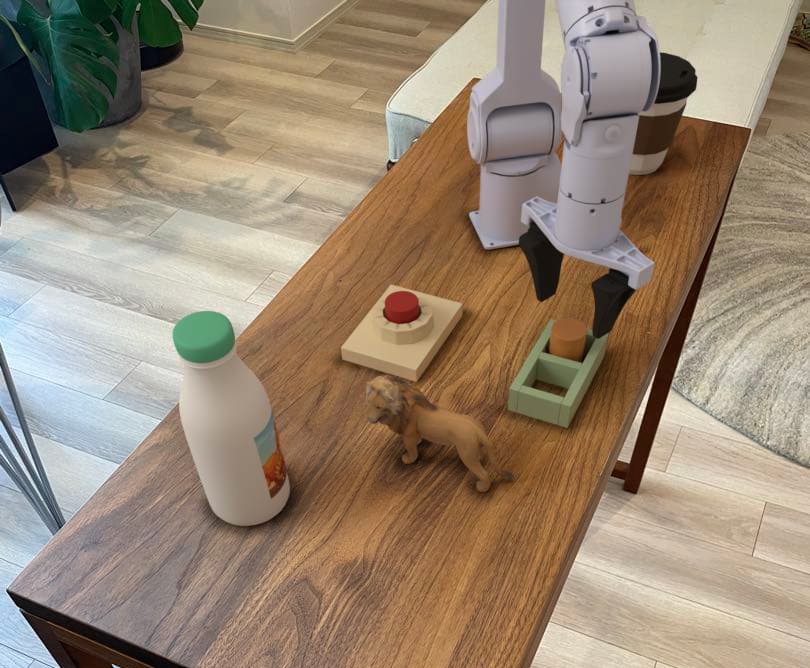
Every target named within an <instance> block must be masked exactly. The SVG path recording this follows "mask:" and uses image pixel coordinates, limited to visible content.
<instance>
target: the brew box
mask: <svg viewBox="0 0 810 668" xmlns="http://www.w3.org/2000/svg"><path fill="white" fill-rule="evenodd" d="M397 291H408V292H411V293H413V294H415V295H416V296H417V297H418V300H419V316H418V318H417V319H416V320H415V321H413V322H411V323H408V324H396V323H392V322H389V321H388V320H387V318H386V313H385V299H386V297H387V296H388V295H390V294H391V293H394V292H397ZM463 306H464V305H463V303H462V302H459V301H455V300H451V299H447V298H444V297H441V296H437V295H432V294H429V293H426V292H420V291H418V290H413V289H410V288H406V287H402V286H398V285H394V284H390V285H388V288H386V290H385V291H384V292H383V294H381V296H380V297H379V299H378V300H377V301H376V302H375V304H374V305H373V306H372V307H371V308H370V310H369V311H368V312H367V314H366V315H365V316H364V318H363V319H362V320H361V321H360V322H359V324H358V325H357V326H356V328H355V329H354V330H353V332H352V333H351V334H350V335H349V336H348V338H347V339H346V340H345V341H344V343H343V344H342V345H341V347H340V351H341V352H340V353H341V359H342V360H343V361H346V362H349V363H353V364H356V365H359V366H362V367H365V368H369V369H373V370H375V371H379V372H383V373H386V374H389V375H391V376H394V377H399V378H401V379H402V378H403V379H406V380H409V381H412V382H415V383H417V382H418V381H419V379H420V378H421V377H422V375H423V374H424V372H425V371H426V369H427V368H428V366H429V365H430V363H431V362H432V360H433V359H434V358H435V356H436V355H437V353H438V352H439V350H440V349H441V347H442V346H443V344H444V343H445V342H446V340H447V339H448V337H449V336H450V334H451V333H452V332H453V330H454V328H455V327H456V326H457V324H458V323H459V321H460V320H461V319H462V318H463Z"/></svg>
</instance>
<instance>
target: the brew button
mask: <svg viewBox="0 0 810 668" xmlns="http://www.w3.org/2000/svg"><path fill="white" fill-rule="evenodd" d="M385 313H386V318H387V320H388V321H389V322H392V323H396V324H408V323H411V322H413V321H415V320H416V319H417V318H418V316H419V300H418V297H417V296H416V295H415V294H413V293H411V292H408V291H397V292H394V293H391V294H390V295H388V296H387V297H386V299H385Z"/></svg>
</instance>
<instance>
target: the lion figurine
mask: <svg viewBox="0 0 810 668" xmlns="http://www.w3.org/2000/svg"><path fill="white" fill-rule="evenodd" d="M365 384H366V390H365V391H366V392H365V403H366V404H367V407H366V408H365V409H364V411H363V416H364V418H366V419H368V422H369V424H371V425H376V424H377V423H379V424H381V425H386V426H387V427H388V429H389V431H390V432H393V433H396V434H397V435H401V436H402V440H403V444H404V446H405V449H406V450H407V452H405V453H404V454H402V455H401V461H402V463H404V465H409V464H412V463H414V462H416V460H417V458H418V456H419V453H418V450H417V446H418V445H419V444H421V442H422V441H423V439H424V440H426V441H428V442H431V443H432V444H437V445H441V446H451V445H454V446H455V447H456V451H457V454H458V456H459V458H460V459H461V461H462V463H463V465H464V466H465V467H466V468H468V470H469V471H471V472H472V473H473V474H474V475H475V476H476V477H477V478H478V479H479V480H478V481H476V482H475V488H476V490H477V492H480V493H486V492H487V491H489V489H490V487H491V483H492V481H491V478H490V473H489V472H488V471H487V469H485V468H484V467H483V465H482V463H481V461H480V460H482V459H483V458H484V455H483V452H482V448H483V447H484V449H485V452H486V456H487V458H488V461H489V463H490V465H491V468H492V469H493V470H494V472H495V473H496V474H497V475H499V476H500V477H501V478H503V479H504V480H513V479H514V477H515V475H514V473H512V472H509V471H506V470H503V469H501V468H500V467H499V465H498V463H497V459H496V457H495V453H494V450H493V447H492V444H491V442H490V440H489V438H488V436H487V430H486V429H485V426H484V425H483V423H481V422H480V421H479V420H478V419H477V418H476V417H474V416H472V415H469V414H464V413H459V412H455V411H452V410H449V409H447V408H444V407H443V406H439V405H436V404H434V403H432V402H430V401H429V399H428V397H426V395H425V394H423V392H422V391H421V390H420V389H419V388H418V387H416V386H415V385H414V384H411V383H409V381H407V380H406V381H405V380H403V379H402V378H398V376H393V375H390V374H389V375H387V374H385V375H377V376H376V377H374V378H373V379H371V380H370V381H366V382H365Z"/></svg>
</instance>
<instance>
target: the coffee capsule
mask: <svg viewBox="0 0 810 668" xmlns="http://www.w3.org/2000/svg"><path fill="white" fill-rule="evenodd" d="M556 320H557V321H556V322H554V324H553V325H552V328H551V336H550V344H549V352H548V354H551V355H554V356H558V357H562V358H565V359H569V360H572V361H576V362H580V363H582V364H583V361H584V360H583V359H584V357H583V354H584V348H585V342H586V336H587V329H588V327H587V325H586V323H584V322H583V321H582V320H580V319H578V318H574V317H562V318H559V319H556Z"/></svg>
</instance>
